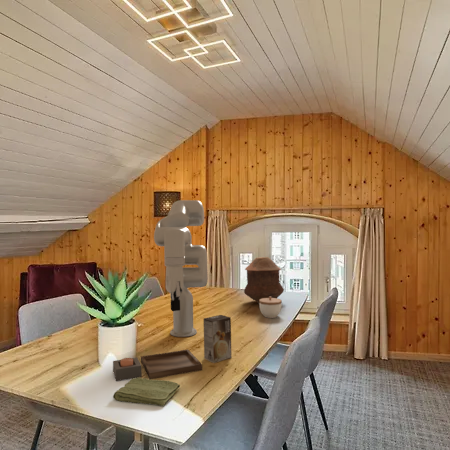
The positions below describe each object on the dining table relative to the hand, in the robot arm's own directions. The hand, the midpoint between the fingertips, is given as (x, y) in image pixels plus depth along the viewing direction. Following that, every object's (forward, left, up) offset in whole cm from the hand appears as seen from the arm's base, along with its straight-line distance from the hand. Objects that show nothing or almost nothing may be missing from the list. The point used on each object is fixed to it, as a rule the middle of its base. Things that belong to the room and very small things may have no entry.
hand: (175, 310), depth 140 cm
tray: (0, -2, -21) cm, 21 cm away
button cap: (+1, -18, -19) cm, 26 cm away
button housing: (+1, -18, -21) cm, 28 cm away
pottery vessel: (-77, +80, -21) cm, 113 cm away
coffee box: (0, +17, -21) cm, 27 cm away
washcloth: (+19, -14, -21) cm, 32 cm away
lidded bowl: (-47, +68, -21) cm, 85 cm away
